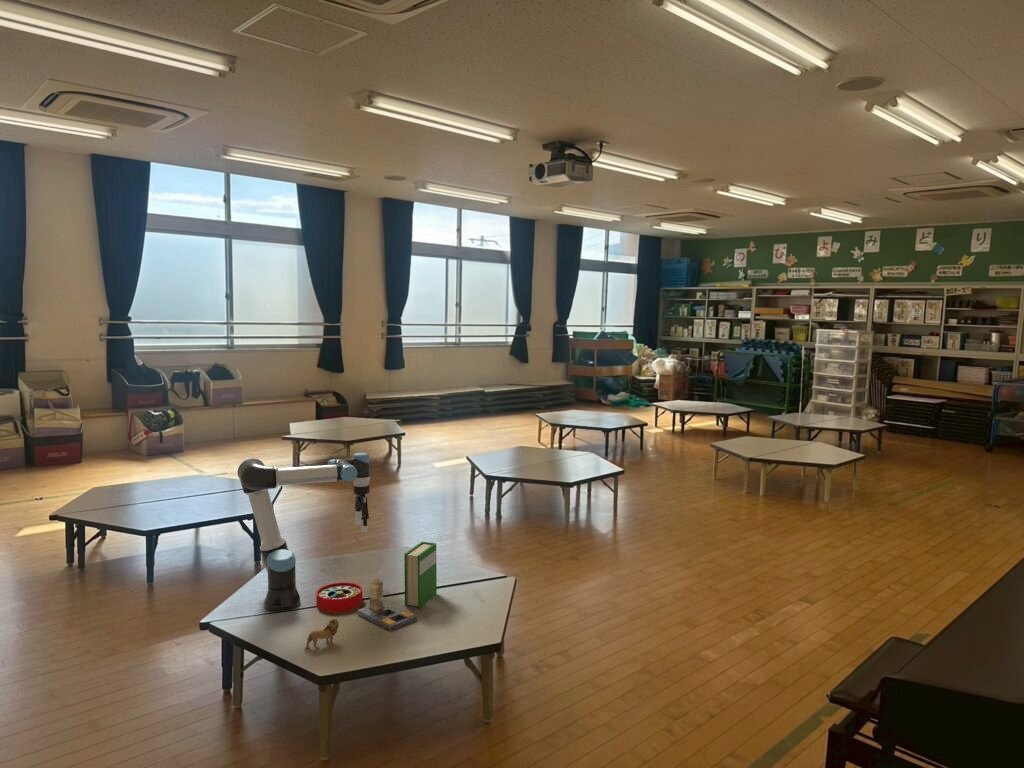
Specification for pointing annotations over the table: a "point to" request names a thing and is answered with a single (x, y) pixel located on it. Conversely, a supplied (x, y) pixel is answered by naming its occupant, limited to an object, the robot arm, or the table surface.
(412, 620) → the slotted board
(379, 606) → the peg
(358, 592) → the toy clock
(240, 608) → the table surface
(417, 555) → the hardback book
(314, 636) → the lion figurine
